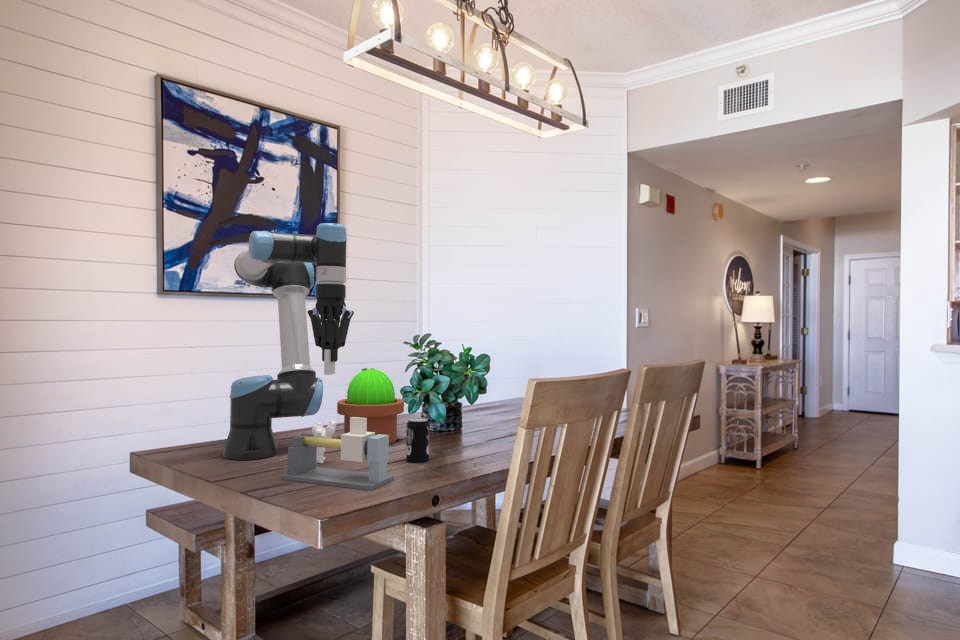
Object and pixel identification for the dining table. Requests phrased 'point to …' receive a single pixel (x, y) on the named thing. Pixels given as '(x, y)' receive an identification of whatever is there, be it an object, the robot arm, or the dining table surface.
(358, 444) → the sleeve
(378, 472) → the grey rod stand
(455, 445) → the dining table surface
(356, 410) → the potted cactus
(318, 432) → the figurine
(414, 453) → the beverage can
